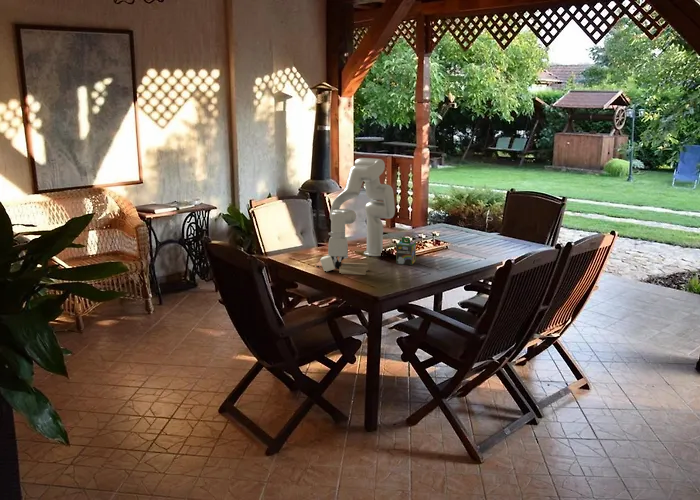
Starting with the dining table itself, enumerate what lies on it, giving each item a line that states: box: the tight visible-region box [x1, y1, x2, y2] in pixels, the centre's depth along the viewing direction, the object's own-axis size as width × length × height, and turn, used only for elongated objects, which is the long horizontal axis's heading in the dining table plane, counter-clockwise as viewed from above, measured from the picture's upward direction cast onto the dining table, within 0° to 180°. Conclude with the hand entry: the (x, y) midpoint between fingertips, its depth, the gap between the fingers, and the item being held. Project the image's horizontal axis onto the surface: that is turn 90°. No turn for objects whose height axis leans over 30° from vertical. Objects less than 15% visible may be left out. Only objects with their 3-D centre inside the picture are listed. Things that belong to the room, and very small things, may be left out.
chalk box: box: [395, 236, 417, 266], centre depth 365 cm, size 9×9×15 cm
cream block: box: [319, 254, 336, 272], centre depth 348 cm, size 6×6×7 cm
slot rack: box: [338, 262, 369, 276], centre depth 347 cm, size 10×14×4 cm
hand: (338, 268), depth 348 cm, fingers closed
